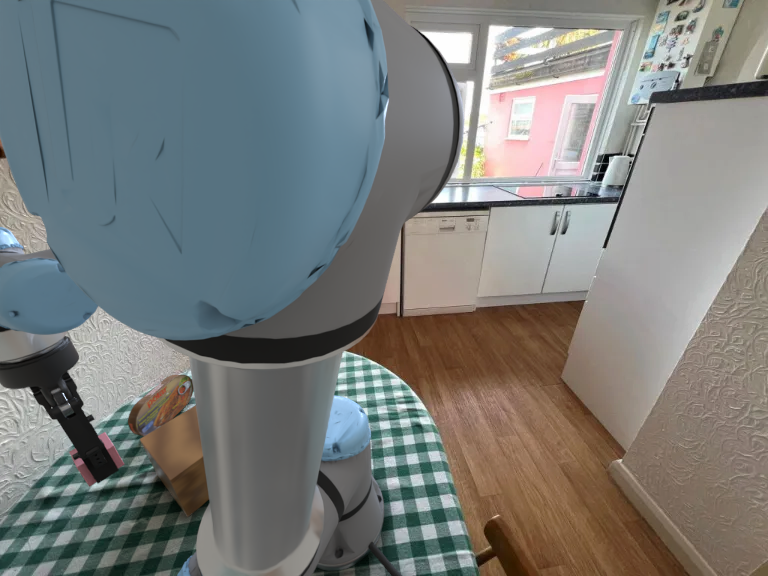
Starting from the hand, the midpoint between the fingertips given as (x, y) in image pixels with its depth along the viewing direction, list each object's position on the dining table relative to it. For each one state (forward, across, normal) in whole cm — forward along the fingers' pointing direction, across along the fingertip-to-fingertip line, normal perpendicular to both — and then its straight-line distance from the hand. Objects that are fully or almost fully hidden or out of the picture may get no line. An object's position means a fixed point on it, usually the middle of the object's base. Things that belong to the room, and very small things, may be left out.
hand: (102, 466), depth 50 cm
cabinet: (+10, +4, +13) cm, 17 cm away
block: (0, 0, 0) cm, 0 cm away
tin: (+10, -16, +13) cm, 23 cm away
